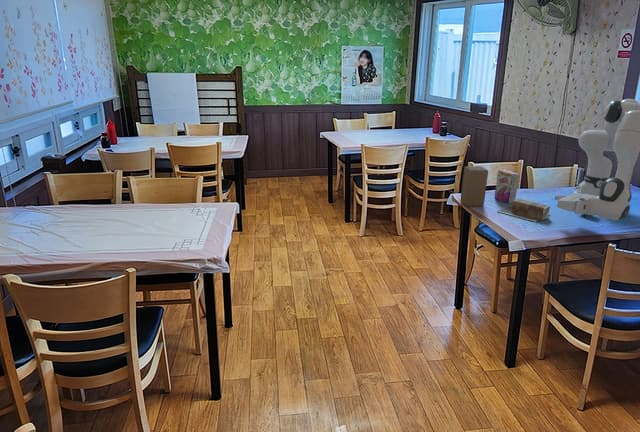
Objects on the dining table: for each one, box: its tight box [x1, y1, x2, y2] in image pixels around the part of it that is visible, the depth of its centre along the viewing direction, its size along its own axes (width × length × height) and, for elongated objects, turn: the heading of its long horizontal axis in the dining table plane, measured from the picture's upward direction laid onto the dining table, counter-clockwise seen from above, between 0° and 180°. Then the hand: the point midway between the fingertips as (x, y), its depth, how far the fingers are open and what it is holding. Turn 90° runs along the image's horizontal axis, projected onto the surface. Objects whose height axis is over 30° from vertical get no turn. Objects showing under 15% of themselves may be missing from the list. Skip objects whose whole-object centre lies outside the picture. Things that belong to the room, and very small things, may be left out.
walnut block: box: [511, 198, 551, 221], centre depth 228 cm, size 6×6×16 cm
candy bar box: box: [493, 169, 520, 204], centre depth 249 cm, size 11×5×16 cm, turn 22°
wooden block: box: [460, 165, 489, 207], centre depth 243 cm, size 10×10×20 cm
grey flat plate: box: [496, 204, 551, 223], centre depth 231 cm, size 20×16×1 cm
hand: (556, 197), depth 217 cm, fingers closed
